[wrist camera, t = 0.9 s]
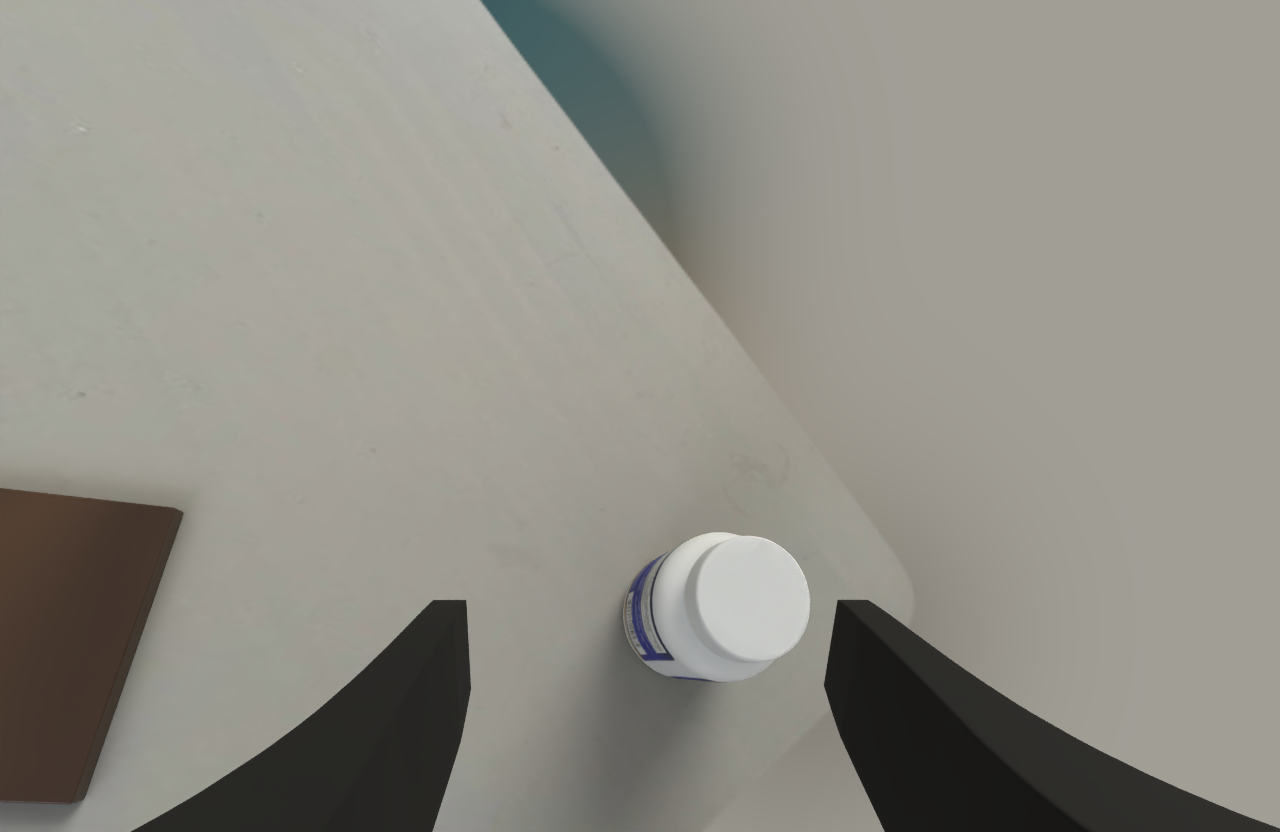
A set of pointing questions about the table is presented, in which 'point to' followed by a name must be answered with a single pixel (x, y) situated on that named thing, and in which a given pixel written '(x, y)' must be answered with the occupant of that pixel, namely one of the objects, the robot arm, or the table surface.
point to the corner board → (69, 631)
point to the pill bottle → (717, 608)
